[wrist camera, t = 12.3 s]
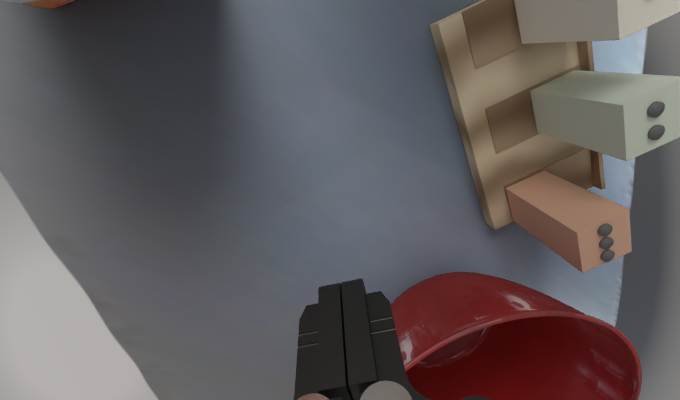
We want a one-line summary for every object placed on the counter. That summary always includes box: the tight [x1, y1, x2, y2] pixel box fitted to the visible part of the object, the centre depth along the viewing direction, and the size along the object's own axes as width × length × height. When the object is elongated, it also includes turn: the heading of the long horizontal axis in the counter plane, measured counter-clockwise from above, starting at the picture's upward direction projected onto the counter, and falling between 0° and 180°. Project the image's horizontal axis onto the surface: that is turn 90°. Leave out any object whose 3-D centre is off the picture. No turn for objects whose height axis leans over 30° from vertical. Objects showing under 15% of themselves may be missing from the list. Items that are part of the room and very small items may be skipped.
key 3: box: [505, 171, 632, 273], centre depth 33 cm, size 4×4×10 cm
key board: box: [430, 0, 605, 230], centre depth 34 cm, size 23×12×3 cm, turn 24°
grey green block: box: [530, 70, 680, 161], centre depth 29 cm, size 4×4×10 cm
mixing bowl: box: [390, 272, 642, 400], centre depth 39 cm, size 28×28×16 cm
